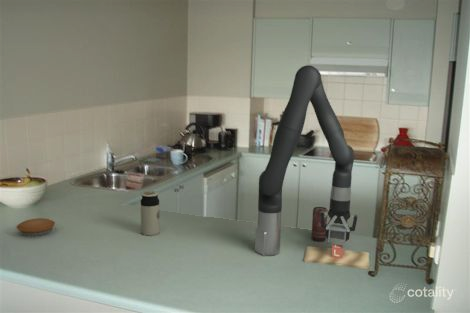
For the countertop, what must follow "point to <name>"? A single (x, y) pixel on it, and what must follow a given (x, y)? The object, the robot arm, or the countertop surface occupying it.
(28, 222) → the pie
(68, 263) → the countertop surface
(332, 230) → the cover
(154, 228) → the travel mug
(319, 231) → the can
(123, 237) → the countertop surface
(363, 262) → the board
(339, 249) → the letter cube
